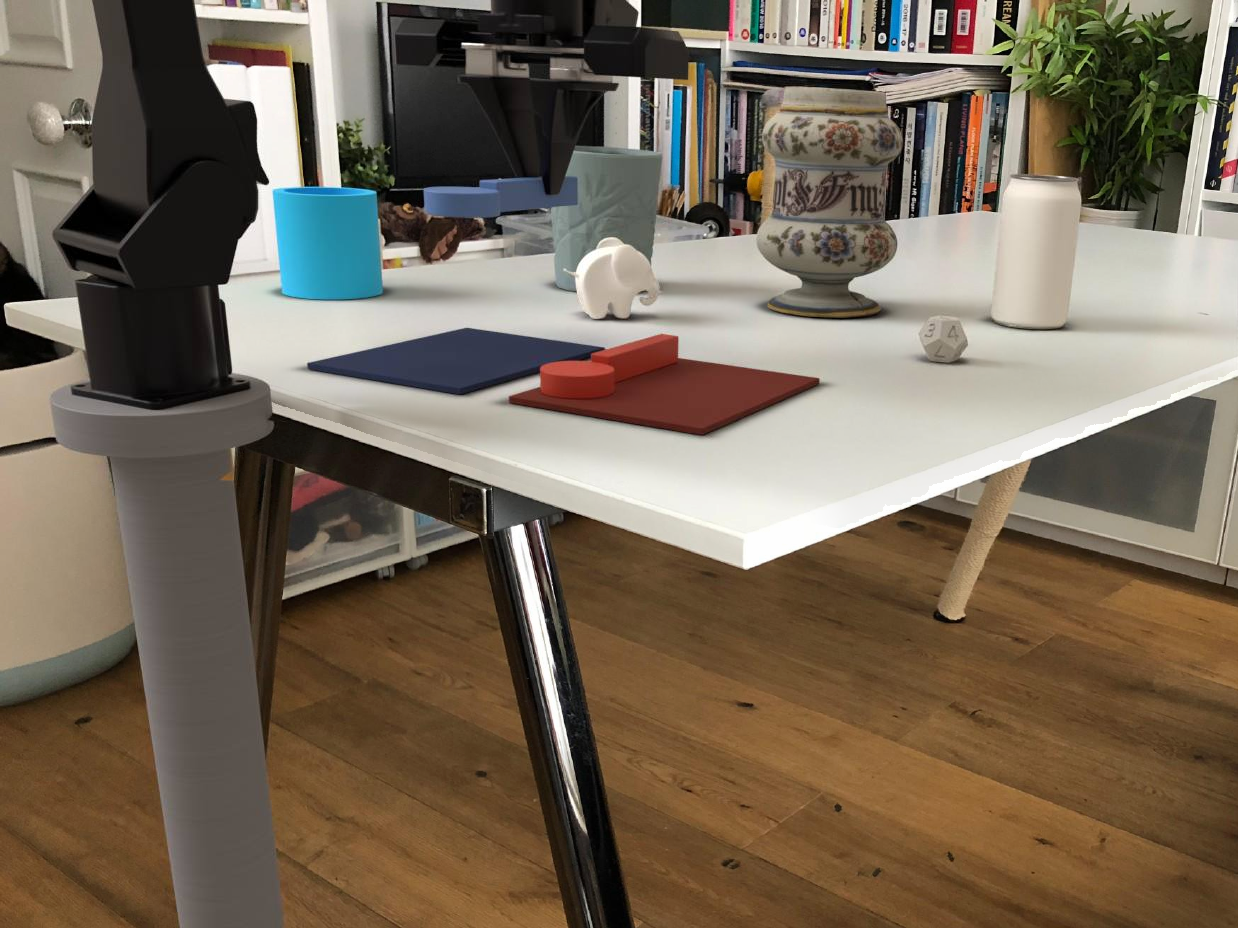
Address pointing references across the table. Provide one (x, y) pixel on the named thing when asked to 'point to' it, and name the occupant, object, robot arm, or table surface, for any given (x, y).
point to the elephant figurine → (614, 279)
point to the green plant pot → (606, 205)
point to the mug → (328, 242)
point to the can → (1036, 251)
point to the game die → (943, 339)
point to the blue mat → (455, 360)
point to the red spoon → (607, 368)
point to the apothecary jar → (829, 197)
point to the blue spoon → (497, 197)
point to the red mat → (682, 396)
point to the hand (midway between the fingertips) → (541, 193)
